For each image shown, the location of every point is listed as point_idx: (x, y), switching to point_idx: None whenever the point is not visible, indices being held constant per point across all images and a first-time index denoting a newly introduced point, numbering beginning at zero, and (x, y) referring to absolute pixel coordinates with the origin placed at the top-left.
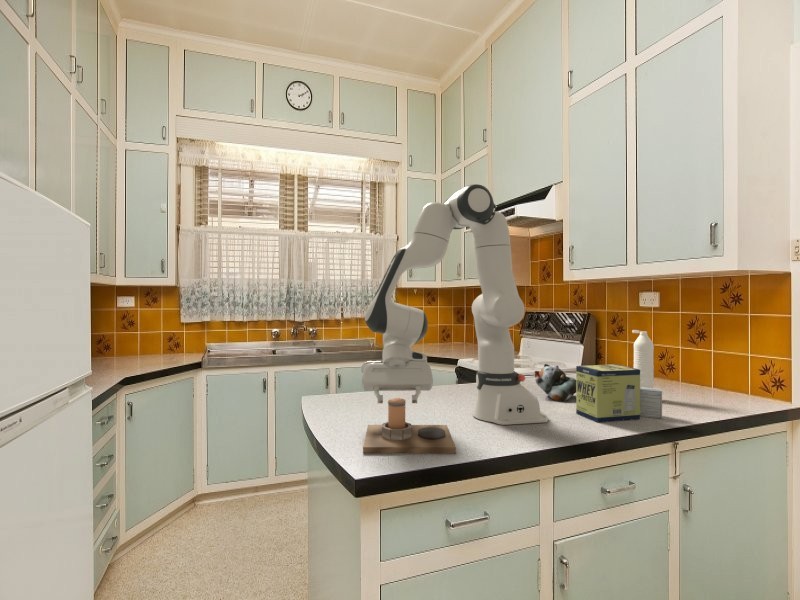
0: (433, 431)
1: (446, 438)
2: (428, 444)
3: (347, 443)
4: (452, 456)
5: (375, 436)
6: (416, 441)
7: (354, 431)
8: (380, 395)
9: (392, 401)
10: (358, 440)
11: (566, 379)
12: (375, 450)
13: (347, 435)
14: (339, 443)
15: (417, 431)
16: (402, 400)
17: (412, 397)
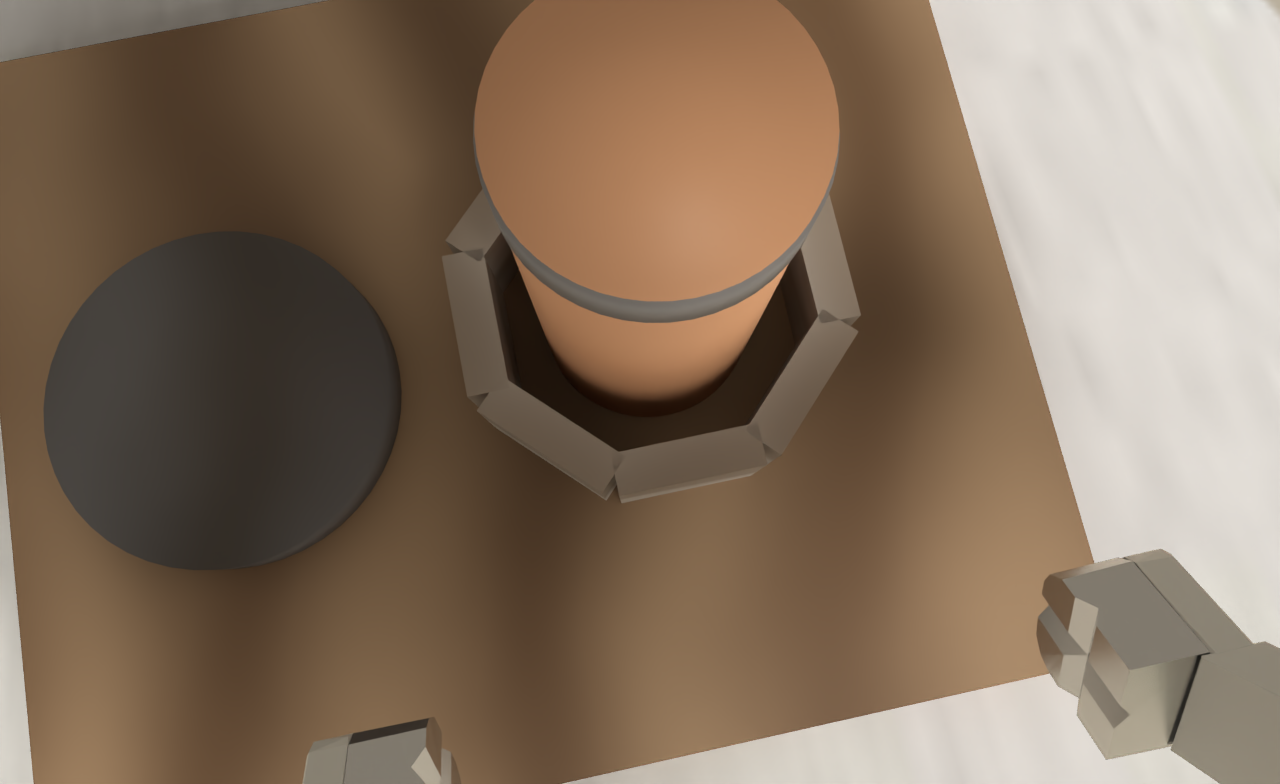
0: (191, 390)
1: (59, 320)
2: (254, 91)
3: (1132, 162)
4: (47, 27)
5: (876, 224)
6: (391, 152)
7: (1229, 572)
8: (1177, 645)
9: (723, 16)
10: (1058, 272)
11: None
12: None
13: (1244, 409)
14: (1212, 146)
15: (422, 508)
16: (534, 128)
17: (414, 773)
